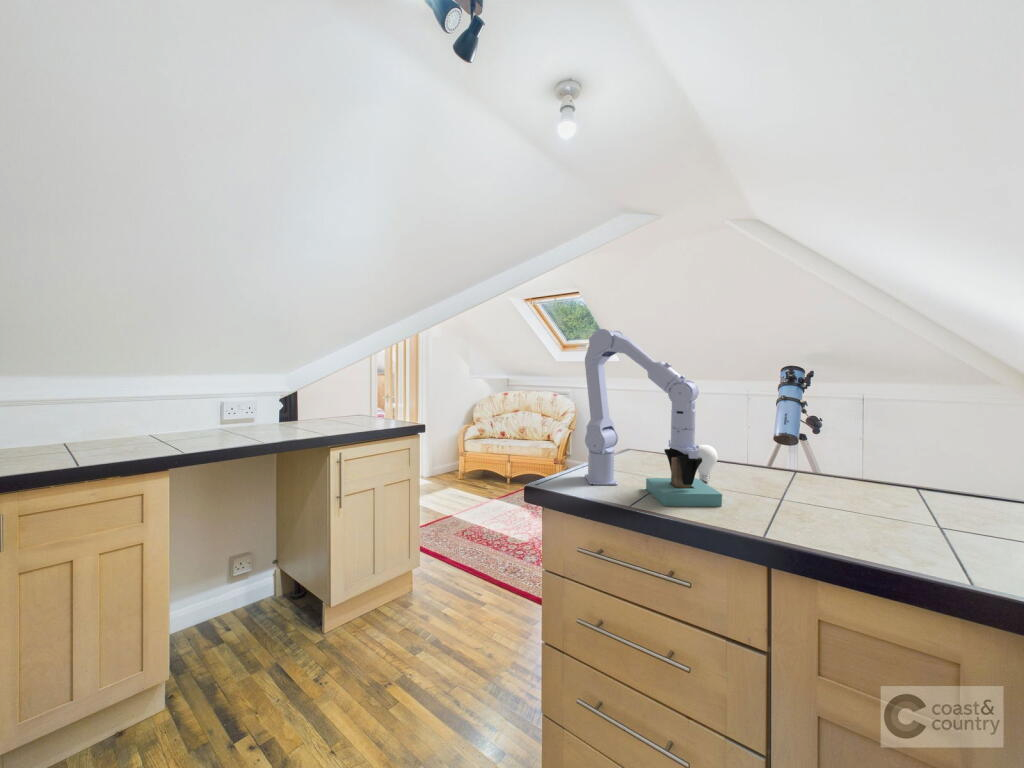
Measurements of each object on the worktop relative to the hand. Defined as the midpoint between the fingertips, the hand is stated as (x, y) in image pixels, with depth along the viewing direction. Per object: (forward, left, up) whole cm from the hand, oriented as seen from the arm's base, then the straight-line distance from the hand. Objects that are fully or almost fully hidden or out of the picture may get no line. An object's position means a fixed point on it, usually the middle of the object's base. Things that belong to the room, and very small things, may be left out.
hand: (681, 480), depth 108 cm
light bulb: (-14, +12, -5) cm, 19 cm away
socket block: (0, 0, -4) cm, 4 cm away
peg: (0, 0, -4) cm, 4 cm away
